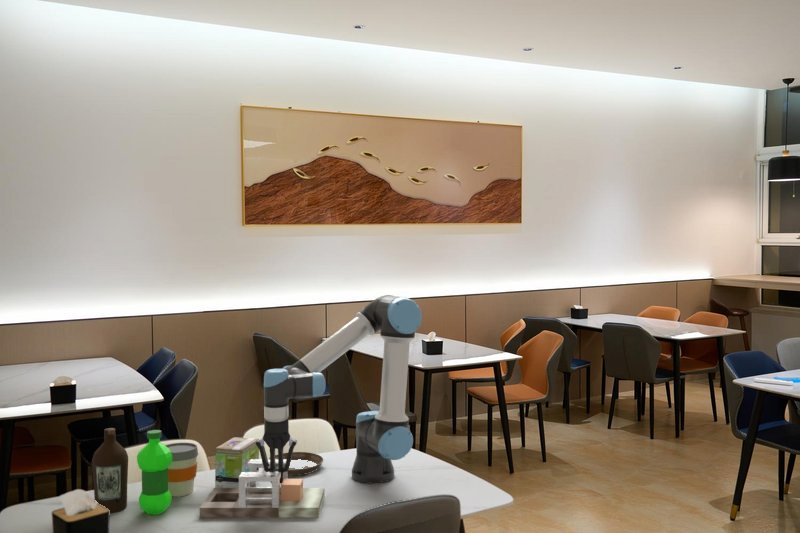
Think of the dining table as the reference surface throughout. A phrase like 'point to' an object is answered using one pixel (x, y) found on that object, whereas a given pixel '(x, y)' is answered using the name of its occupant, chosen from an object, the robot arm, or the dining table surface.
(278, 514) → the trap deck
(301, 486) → the terracotta block
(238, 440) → the tea box
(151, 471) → the plastic bottle
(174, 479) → the reusable coffee cup
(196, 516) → the dining table surface
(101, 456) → the olive oil
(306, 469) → the plant saucer
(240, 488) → the tunnel
